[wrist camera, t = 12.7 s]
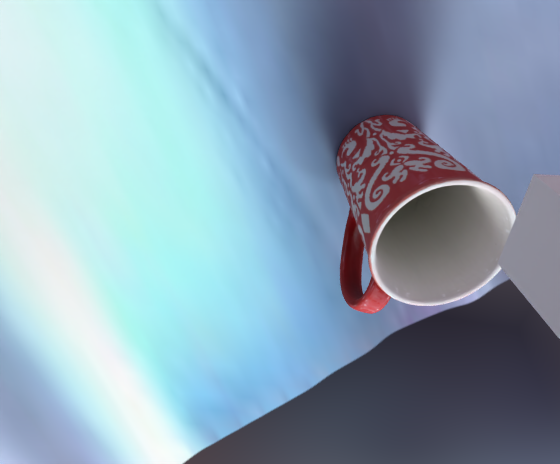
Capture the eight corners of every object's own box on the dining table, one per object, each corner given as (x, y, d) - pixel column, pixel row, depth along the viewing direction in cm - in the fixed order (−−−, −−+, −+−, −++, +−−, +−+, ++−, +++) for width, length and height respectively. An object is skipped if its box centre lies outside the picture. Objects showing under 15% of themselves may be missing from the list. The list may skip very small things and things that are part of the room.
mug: (370, 78, 38) (440, 152, 27) (456, 136, 42) (549, 223, 31) (278, 208, 43) (305, 315, 32) (362, 250, 47) (412, 361, 36)
